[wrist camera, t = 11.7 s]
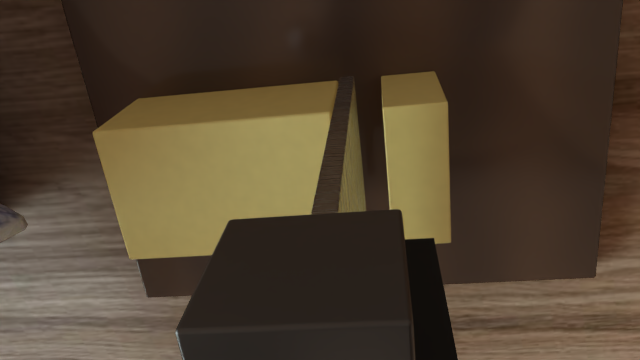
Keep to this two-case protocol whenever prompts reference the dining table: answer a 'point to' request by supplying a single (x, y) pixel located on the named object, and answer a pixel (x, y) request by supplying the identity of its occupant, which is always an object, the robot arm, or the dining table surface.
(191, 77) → the board
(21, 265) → the dining table surface
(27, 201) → the dining table surface
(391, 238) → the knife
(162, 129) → the butter block
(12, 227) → the potted plant
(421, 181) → the block
